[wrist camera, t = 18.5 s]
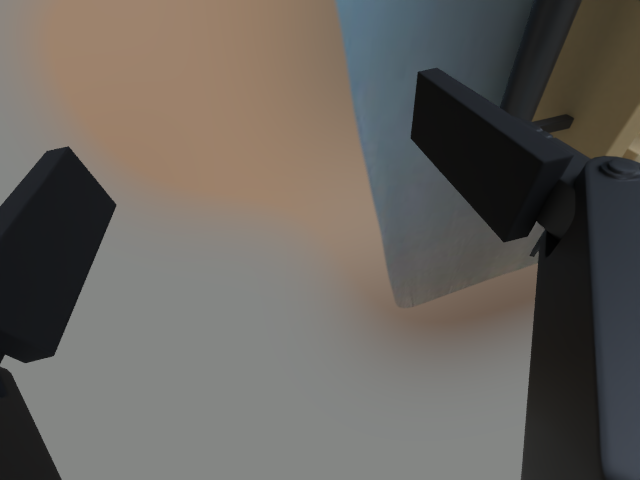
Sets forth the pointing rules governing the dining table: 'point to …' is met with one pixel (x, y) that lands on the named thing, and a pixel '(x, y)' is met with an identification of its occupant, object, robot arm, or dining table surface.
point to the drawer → (581, 75)
